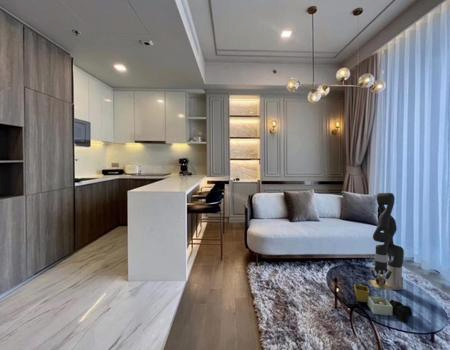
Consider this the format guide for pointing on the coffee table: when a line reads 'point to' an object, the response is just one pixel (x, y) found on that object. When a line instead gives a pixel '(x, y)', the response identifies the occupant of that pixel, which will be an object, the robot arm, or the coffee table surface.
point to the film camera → (401, 311)
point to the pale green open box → (379, 305)
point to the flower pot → (361, 293)
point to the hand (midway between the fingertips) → (380, 283)
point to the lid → (381, 284)
